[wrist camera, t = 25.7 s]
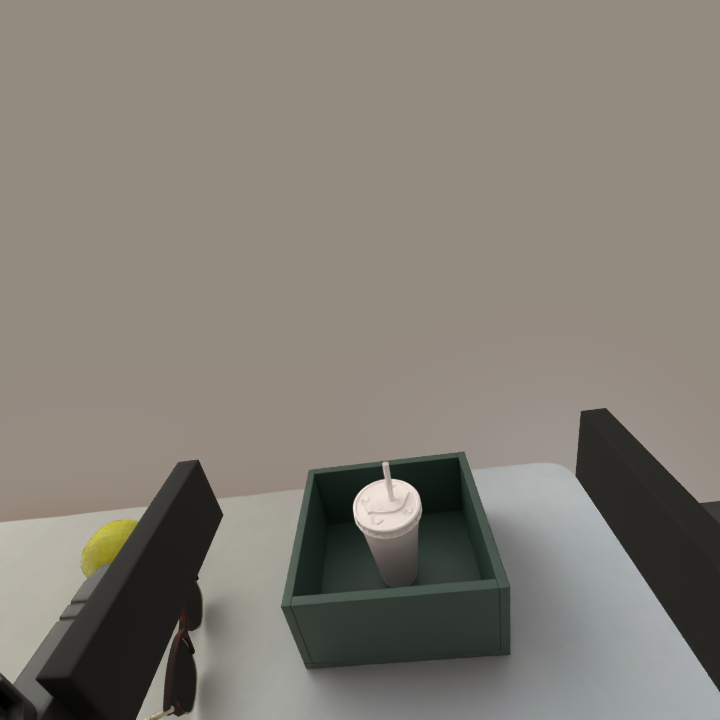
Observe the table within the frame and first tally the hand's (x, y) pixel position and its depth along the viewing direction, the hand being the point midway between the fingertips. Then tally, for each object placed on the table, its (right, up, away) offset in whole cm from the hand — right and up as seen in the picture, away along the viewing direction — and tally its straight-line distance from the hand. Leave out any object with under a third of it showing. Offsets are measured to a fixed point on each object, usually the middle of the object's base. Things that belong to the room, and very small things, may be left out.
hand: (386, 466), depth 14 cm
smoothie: (+3, -18, +27) cm, 32 cm away
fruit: (-32, -19, +31) cm, 48 cm away
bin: (+3, -19, +27) cm, 33 cm away
